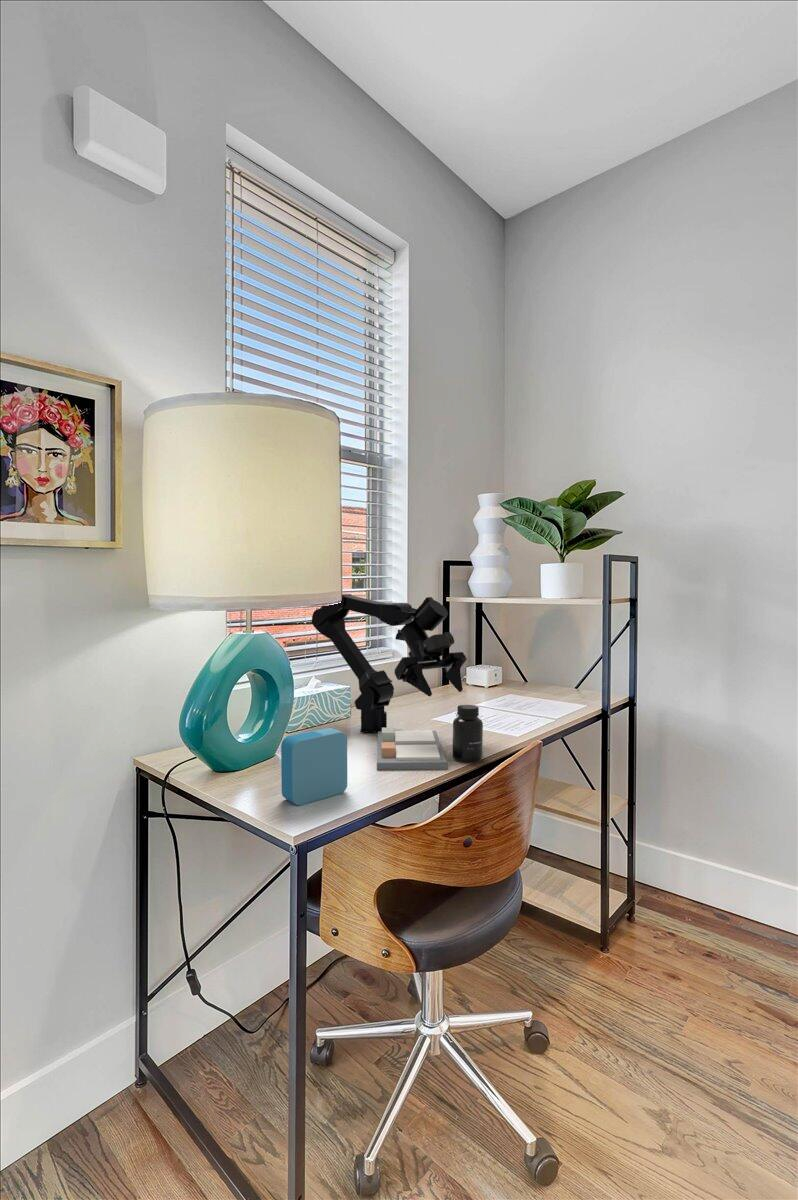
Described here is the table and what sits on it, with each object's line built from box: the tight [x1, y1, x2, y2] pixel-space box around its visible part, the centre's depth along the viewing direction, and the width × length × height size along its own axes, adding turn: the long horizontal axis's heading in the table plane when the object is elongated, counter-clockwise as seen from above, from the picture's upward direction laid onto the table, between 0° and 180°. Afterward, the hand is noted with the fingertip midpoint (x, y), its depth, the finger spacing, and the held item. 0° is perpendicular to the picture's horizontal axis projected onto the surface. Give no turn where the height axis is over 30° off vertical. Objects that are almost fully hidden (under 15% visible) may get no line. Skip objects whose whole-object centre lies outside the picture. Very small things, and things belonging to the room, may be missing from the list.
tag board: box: [376, 727, 448, 771], centre depth 143 cm, size 15×26×4 cm, turn 1°
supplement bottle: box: [451, 704, 484, 764], centre depth 137 cm, size 7×7×12 cm
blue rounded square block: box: [280, 727, 348, 806], centre depth 114 cm, size 12×4×12 cm, turn 130°
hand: (446, 693), depth 143 cm, fingers open, 9 cm apart
